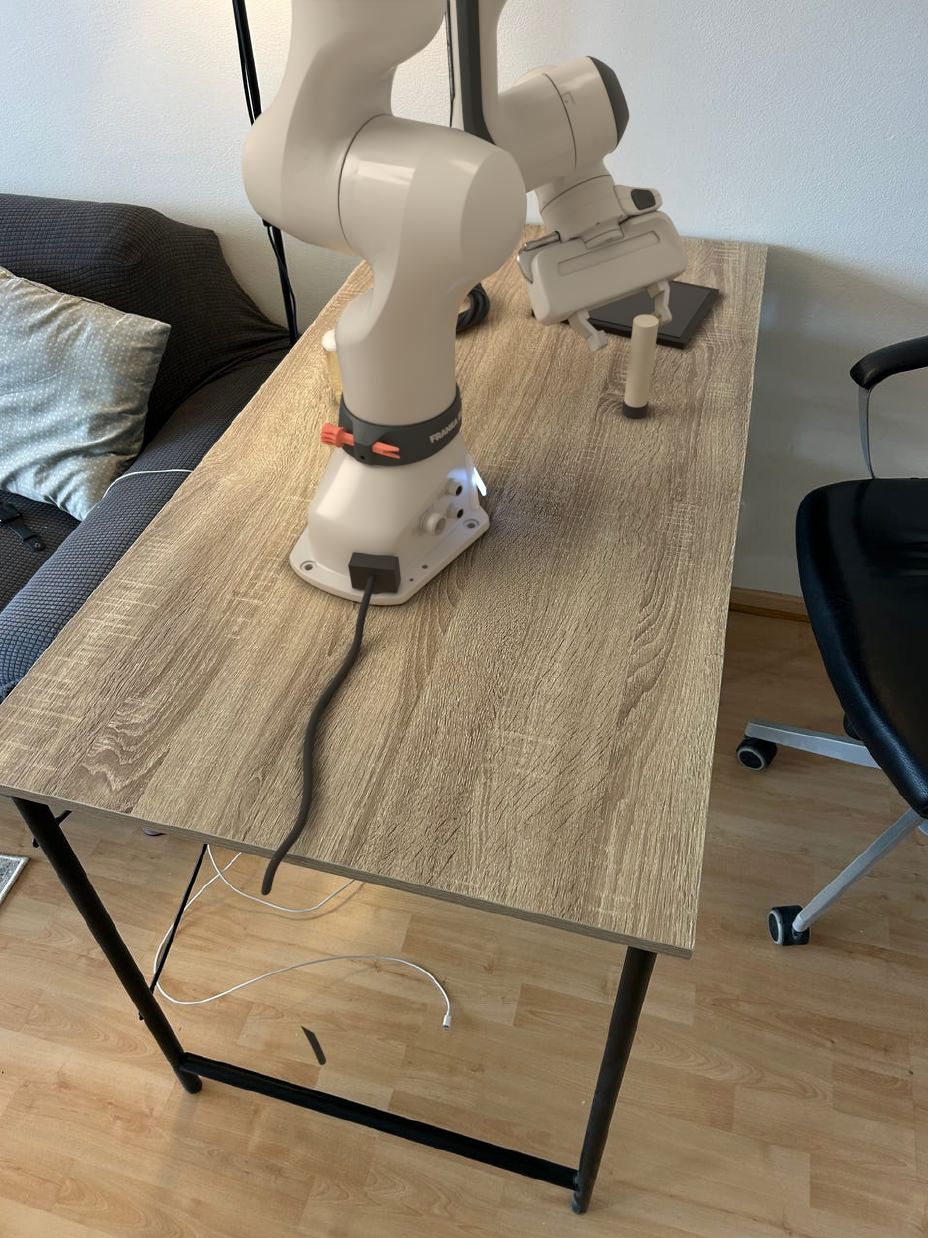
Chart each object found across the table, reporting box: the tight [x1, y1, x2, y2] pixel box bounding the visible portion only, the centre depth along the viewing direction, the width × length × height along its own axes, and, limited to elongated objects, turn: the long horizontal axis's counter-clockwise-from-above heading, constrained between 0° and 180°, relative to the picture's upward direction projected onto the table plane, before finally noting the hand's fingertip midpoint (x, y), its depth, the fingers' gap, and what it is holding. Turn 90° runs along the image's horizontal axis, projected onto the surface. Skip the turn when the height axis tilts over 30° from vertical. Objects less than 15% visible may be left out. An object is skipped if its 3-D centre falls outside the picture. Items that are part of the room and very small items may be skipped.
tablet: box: [531, 279, 720, 350], centre depth 126 cm, size 16×22×1 cm
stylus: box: [621, 315, 659, 420], centre depth 105 cm, size 3×3×12 cm
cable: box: [456, 281, 491, 332], centre depth 125 cm, size 17×14×4 cm
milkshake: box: [321, 328, 343, 405], centre depth 109 cm, size 5×5×10 cm
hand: (632, 336), depth 103 cm, fingers open, 8 cm apart
